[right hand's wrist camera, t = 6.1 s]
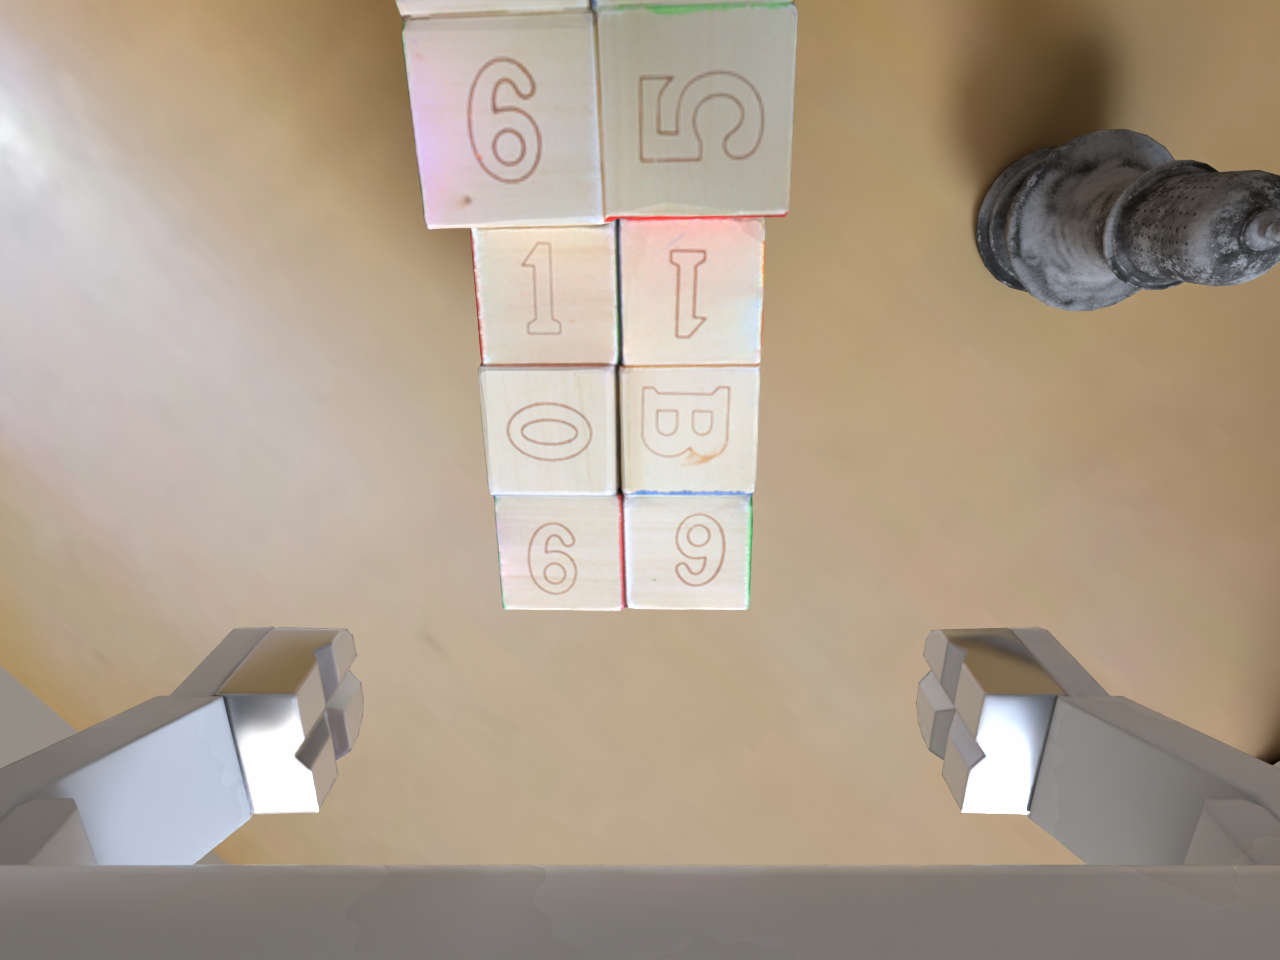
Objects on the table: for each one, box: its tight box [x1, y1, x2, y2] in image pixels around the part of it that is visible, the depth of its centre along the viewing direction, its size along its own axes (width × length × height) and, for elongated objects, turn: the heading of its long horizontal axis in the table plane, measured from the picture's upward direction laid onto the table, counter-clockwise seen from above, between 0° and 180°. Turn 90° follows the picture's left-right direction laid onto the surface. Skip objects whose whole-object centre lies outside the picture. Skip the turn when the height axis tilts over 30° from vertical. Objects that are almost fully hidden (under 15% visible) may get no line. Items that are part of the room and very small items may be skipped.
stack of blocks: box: [396, 0, 798, 611], centre depth 17 cm, size 21×6×12 cm, turn 0°
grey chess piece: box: [976, 129, 1280, 311], centre depth 23 cm, size 6×6×12 cm
